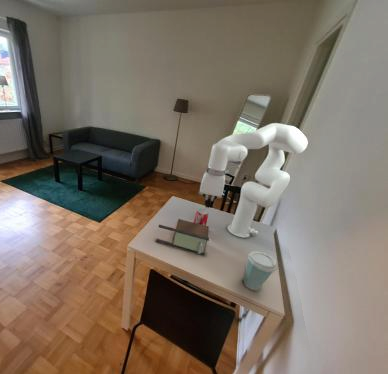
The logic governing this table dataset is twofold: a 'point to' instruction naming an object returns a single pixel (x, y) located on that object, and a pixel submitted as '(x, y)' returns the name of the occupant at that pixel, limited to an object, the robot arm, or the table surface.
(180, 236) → the pale green block
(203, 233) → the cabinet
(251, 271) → the disposable coffee cup
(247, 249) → the table surface
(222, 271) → the table surface
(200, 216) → the soda can
